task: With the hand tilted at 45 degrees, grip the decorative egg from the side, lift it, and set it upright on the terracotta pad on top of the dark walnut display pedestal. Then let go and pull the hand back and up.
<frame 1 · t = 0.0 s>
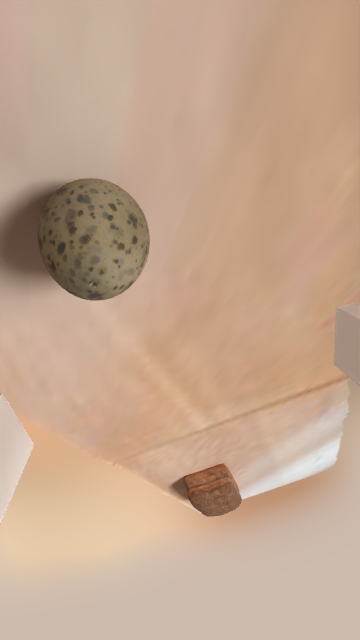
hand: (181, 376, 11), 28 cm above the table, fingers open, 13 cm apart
decorative egg: (98, 214, 33), on the table
bread: (211, 478, 108), on the table
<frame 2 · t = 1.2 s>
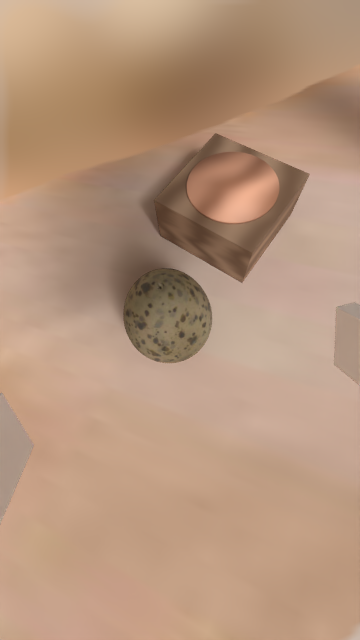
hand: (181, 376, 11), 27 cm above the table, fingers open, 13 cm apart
decorative egg: (172, 334, 40), on the table
pedestal: (226, 224, 46), on the table
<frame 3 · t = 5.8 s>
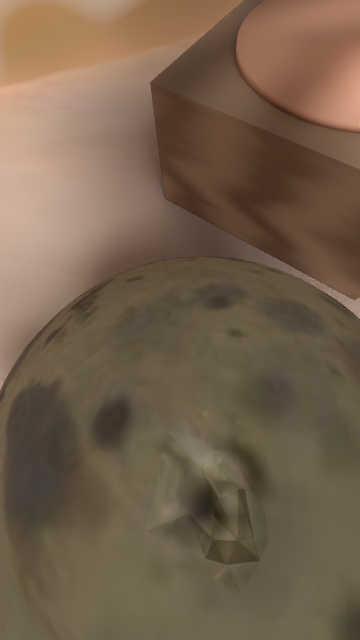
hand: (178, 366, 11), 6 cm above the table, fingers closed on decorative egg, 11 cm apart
decorative egg: (195, 432, 16), on the table, touching gripper
pedestal: (301, 176, 22), on the table
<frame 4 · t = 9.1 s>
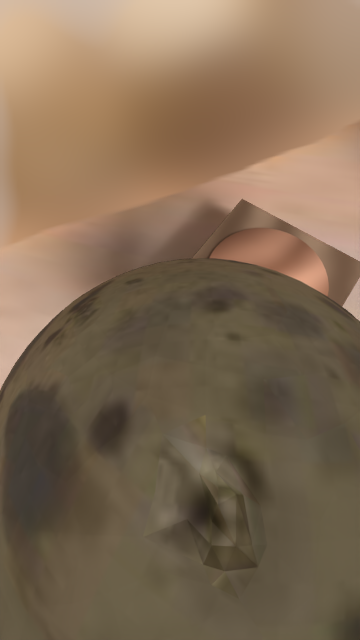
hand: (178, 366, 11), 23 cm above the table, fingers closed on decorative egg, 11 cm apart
decorative egg: (195, 433, 16), point 17 cm above the table, touching gripper
pedestal: (249, 308, 37), on the table
when the fingers open (15 cm above the table, at t = 12.4 s): decorative egg drops 1 cm, resting on pedestal.
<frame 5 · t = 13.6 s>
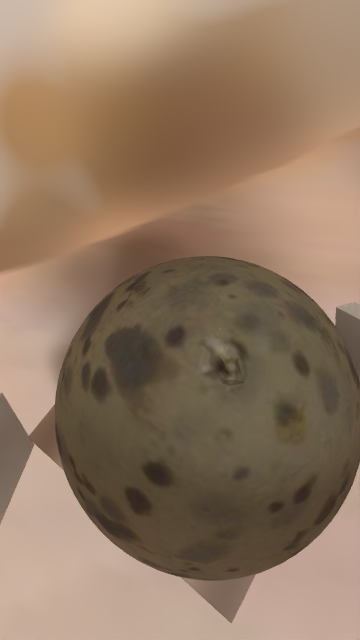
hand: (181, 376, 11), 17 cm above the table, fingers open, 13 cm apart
decorative egg: (193, 407, 18), point 8 cm above the table, touching pedestal
pedestal: (192, 410, 26), on the table
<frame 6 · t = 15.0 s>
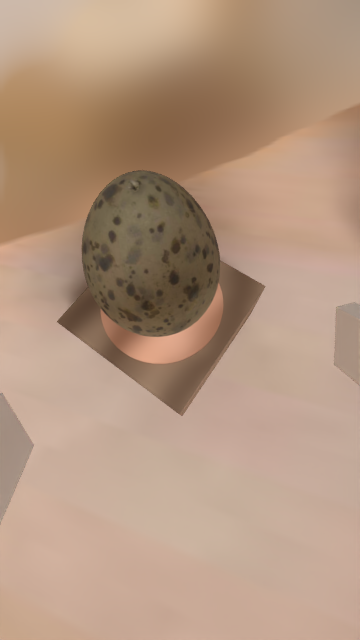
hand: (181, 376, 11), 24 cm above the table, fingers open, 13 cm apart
decorative egg: (162, 303, 29), point 8 cm above the table, touching pedestal
pedestal: (168, 328, 36), on the table
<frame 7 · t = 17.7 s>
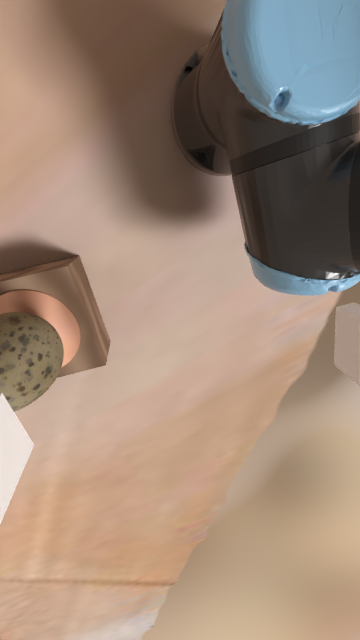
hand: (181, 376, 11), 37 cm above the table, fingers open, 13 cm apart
decorative egg: (33, 333, 39), point 8 cm above the table, touching pedestal
pedestal: (49, 312, 46), on the table
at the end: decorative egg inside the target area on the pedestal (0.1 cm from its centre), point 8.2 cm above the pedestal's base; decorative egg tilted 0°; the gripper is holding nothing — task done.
